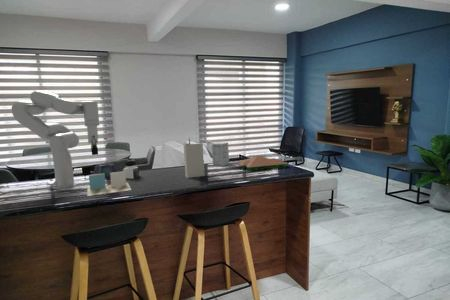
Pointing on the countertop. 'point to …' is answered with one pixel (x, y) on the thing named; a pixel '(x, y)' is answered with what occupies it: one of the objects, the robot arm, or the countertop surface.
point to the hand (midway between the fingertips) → (94, 153)
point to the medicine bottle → (131, 169)
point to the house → (260, 162)
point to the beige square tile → (118, 179)
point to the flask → (106, 169)
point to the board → (108, 190)
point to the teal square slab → (97, 181)
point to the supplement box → (220, 154)
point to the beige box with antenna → (193, 160)
